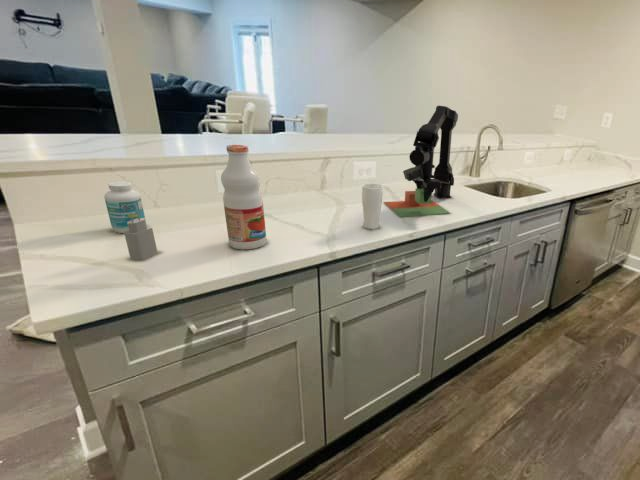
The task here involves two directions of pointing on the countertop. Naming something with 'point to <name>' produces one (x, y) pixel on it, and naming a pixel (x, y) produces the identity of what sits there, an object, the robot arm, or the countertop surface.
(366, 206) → the drinking glass
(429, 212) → the sorting mat
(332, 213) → the countertop surface
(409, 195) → the terracotta block
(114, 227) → the pill bottle
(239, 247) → the fruit juice
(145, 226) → the power adapter
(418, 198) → the sage block
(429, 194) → the robot arm
